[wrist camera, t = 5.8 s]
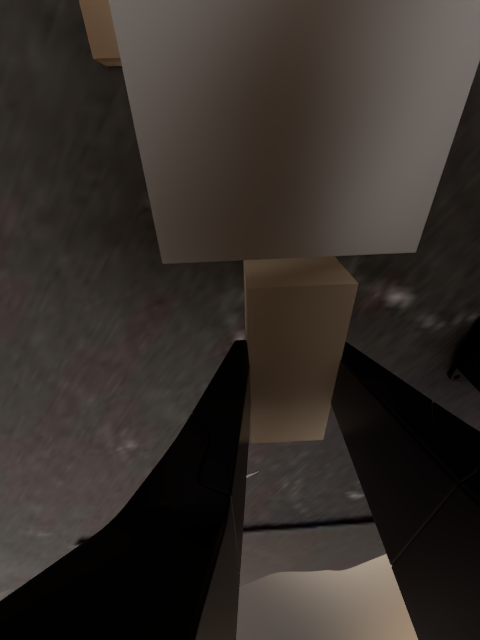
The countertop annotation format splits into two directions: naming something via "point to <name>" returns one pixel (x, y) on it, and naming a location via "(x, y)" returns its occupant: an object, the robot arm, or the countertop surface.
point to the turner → (294, 158)
